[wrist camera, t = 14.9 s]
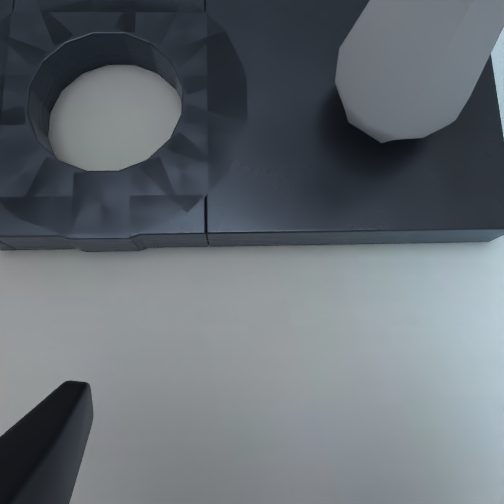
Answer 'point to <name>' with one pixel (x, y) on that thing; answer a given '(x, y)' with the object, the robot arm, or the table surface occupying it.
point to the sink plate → (232, 135)
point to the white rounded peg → (414, 63)
